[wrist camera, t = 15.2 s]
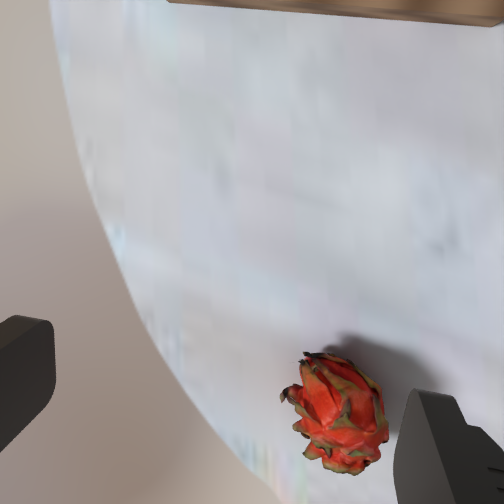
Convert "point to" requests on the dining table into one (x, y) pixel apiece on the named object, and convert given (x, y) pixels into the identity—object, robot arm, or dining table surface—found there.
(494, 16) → the socket block
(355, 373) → the dragon fruit
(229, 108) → the dining table surface
